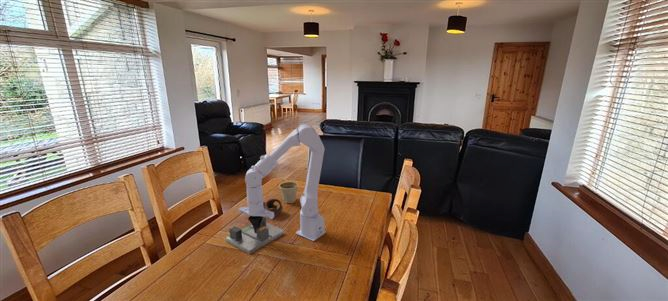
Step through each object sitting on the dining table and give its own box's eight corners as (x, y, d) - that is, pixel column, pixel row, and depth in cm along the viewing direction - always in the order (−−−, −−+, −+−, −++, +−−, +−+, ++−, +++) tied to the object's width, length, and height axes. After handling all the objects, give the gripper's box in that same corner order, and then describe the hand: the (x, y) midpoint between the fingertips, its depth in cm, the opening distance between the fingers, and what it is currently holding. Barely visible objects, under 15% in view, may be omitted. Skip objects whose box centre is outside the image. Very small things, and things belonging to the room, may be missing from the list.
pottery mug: (282, 208, 137) (285, 198, 132) (278, 225, 130) (281, 215, 125) (257, 203, 136) (259, 192, 131) (252, 220, 129) (253, 209, 123)
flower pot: (276, 203, 142) (275, 187, 139) (284, 196, 150) (284, 180, 148) (293, 206, 139) (293, 189, 137) (301, 198, 148) (301, 182, 146)
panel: (283, 233, 115) (283, 222, 114) (249, 254, 102) (248, 241, 100) (260, 223, 123) (260, 212, 122) (226, 241, 110) (224, 229, 108)
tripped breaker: (268, 237, 109) (268, 228, 108) (263, 240, 107) (263, 231, 106) (262, 233, 111) (261, 225, 110) (256, 236, 110) (256, 227, 109)
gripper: (277, 198, 109) (279, 230, 112) (245, 193, 113) (247, 224, 117) (267, 206, 102) (269, 239, 106) (233, 200, 107) (236, 232, 110)
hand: (257, 232), depth 111 cm, fingers closed
